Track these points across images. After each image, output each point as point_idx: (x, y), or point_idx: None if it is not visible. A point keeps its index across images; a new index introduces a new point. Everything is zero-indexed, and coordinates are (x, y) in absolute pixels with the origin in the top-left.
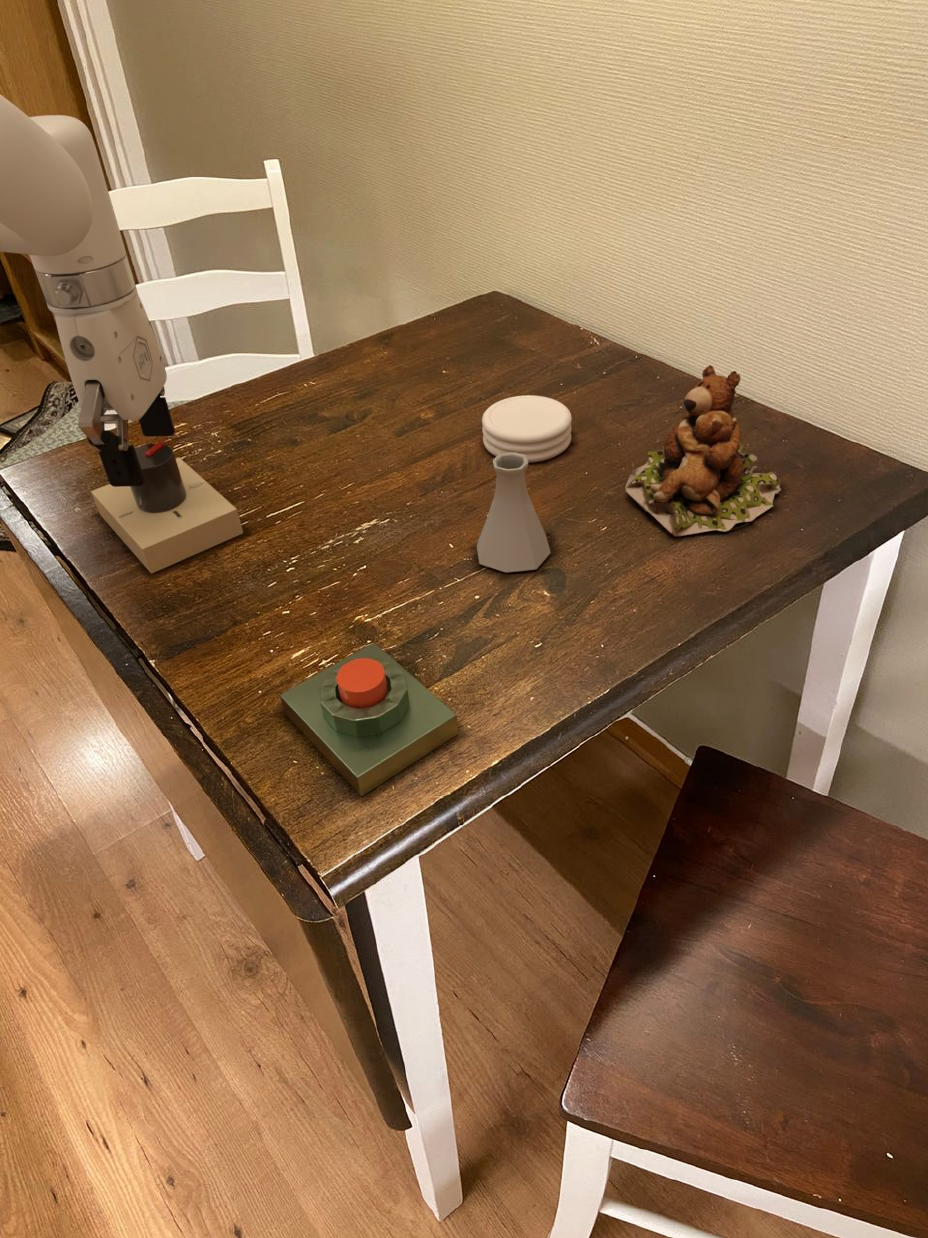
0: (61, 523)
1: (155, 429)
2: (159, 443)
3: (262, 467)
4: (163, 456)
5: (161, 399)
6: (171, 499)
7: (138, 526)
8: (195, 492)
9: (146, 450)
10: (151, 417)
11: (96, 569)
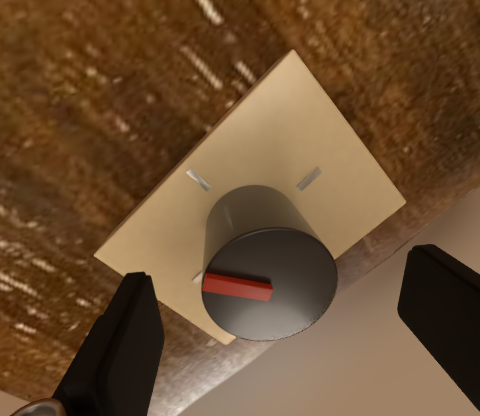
0: (244, 346)
1: (154, 324)
2: (214, 285)
3: (29, 92)
4: (274, 249)
5: (93, 391)
6: (289, 201)
7: (337, 235)
8: (226, 172)
9: (238, 304)
10: (142, 361)
11: (351, 264)
